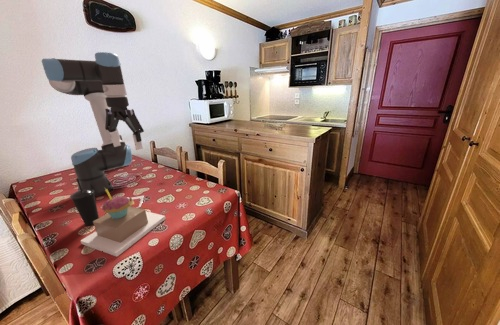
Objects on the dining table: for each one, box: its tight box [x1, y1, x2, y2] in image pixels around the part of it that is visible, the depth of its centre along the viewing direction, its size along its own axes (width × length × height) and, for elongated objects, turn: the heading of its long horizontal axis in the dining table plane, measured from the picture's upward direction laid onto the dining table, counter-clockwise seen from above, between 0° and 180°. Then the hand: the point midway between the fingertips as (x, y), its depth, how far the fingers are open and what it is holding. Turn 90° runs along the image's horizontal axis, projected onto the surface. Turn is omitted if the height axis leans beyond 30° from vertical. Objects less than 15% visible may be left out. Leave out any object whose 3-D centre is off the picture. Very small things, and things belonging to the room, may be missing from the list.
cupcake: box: [101, 188, 130, 219], centre depth 74 cm, size 9×8×12 cm
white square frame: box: [126, 195, 145, 209], centre depth 97 cm, size 12×12×5 cm
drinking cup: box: [69, 177, 100, 227], centre depth 82 cm, size 8×8×20 cm
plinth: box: [80, 206, 167, 257], centre depth 78 cm, size 18×22×8 cm
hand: (128, 147), depth 89 cm, fingers open, 13 cm apart
